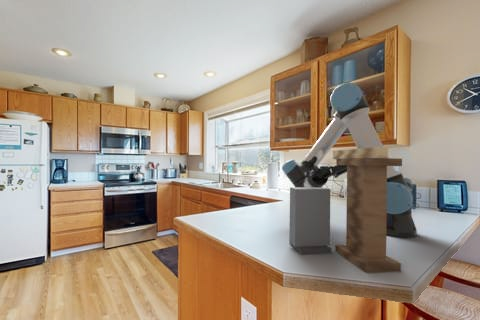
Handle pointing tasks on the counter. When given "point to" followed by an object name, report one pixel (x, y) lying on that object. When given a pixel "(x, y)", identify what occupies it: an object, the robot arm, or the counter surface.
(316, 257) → the counter surface
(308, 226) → the grey rectangular block
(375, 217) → the stand
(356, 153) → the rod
